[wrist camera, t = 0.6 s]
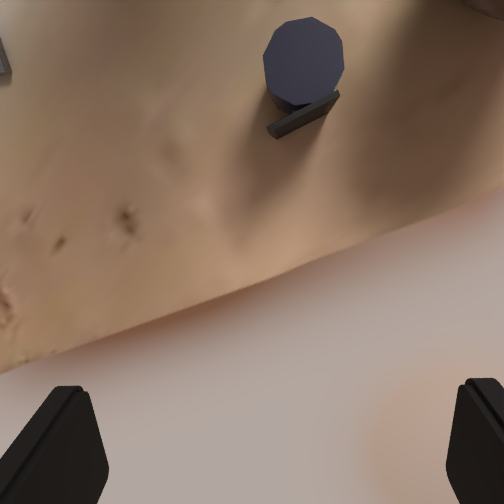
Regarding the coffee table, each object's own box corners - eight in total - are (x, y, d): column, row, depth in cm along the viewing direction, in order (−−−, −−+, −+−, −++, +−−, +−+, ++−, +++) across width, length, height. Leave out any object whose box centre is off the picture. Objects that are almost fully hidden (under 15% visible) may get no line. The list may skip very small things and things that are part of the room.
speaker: (336, 133, 36) (352, 129, 26) (274, 139, 37) (267, 139, 27) (332, 43, 34) (348, 2, 24) (267, 52, 35) (256, 16, 25)
